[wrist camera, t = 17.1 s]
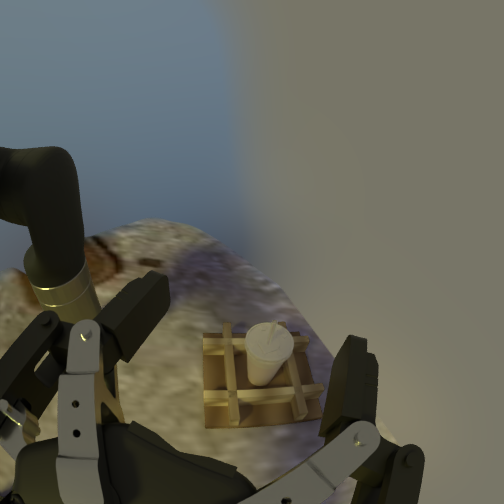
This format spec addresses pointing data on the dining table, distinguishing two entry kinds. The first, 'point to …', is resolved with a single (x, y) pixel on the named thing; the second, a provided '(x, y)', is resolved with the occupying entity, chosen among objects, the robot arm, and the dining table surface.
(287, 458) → the dining table surface
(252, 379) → the smoothie
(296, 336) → the wooden grid tray
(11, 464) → the dining table surface
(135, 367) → the dining table surface
